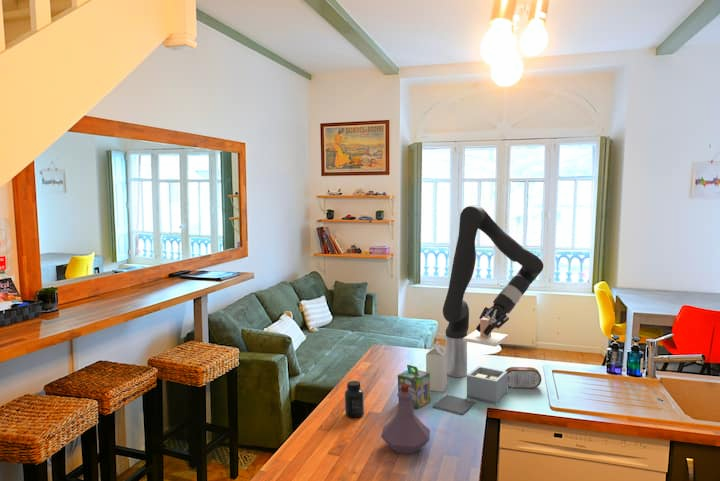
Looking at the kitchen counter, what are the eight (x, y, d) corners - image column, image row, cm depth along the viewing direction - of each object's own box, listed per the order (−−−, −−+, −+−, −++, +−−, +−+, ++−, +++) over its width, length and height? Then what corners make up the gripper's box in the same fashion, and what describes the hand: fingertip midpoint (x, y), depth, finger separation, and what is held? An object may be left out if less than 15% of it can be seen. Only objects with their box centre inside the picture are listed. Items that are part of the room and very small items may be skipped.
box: (466, 397, 190) (466, 375, 189) (478, 387, 199) (478, 365, 198) (496, 404, 182) (496, 381, 182) (507, 393, 192) (507, 371, 191)
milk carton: (426, 390, 197) (425, 344, 196) (430, 383, 204) (429, 339, 202) (443, 392, 195) (443, 346, 193) (447, 385, 201) (446, 341, 200)
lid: (463, 341, 187) (463, 320, 186) (476, 332, 197) (476, 313, 197) (496, 346, 179) (496, 325, 179) (507, 337, 190) (508, 317, 189)
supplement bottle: (366, 411, 179) (365, 380, 178) (360, 420, 173) (359, 387, 172) (349, 409, 181) (348, 378, 180) (342, 417, 175) (341, 385, 174)
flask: (439, 456, 148) (439, 393, 146) (387, 463, 144) (386, 399, 142) (421, 431, 164) (421, 373, 162) (374, 437, 160) (373, 378, 158)
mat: (432, 407, 182) (432, 405, 182) (447, 396, 191) (446, 394, 191) (462, 415, 175) (462, 413, 174) (475, 403, 184) (475, 401, 184)
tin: (540, 386, 198) (540, 366, 198) (542, 389, 195) (542, 369, 194) (502, 386, 200) (502, 366, 199) (504, 389, 197) (504, 369, 196)
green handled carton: (431, 401, 186) (430, 364, 185) (416, 409, 180) (416, 371, 178) (411, 395, 193) (411, 359, 191) (397, 403, 186) (396, 365, 185)
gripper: (491, 289, 196) (465, 321, 193) (513, 296, 182) (486, 331, 180) (502, 301, 198) (477, 333, 195) (525, 308, 185) (498, 343, 182)
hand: (481, 332), depth 187 cm, fingers closed on lid, 4 cm apart
